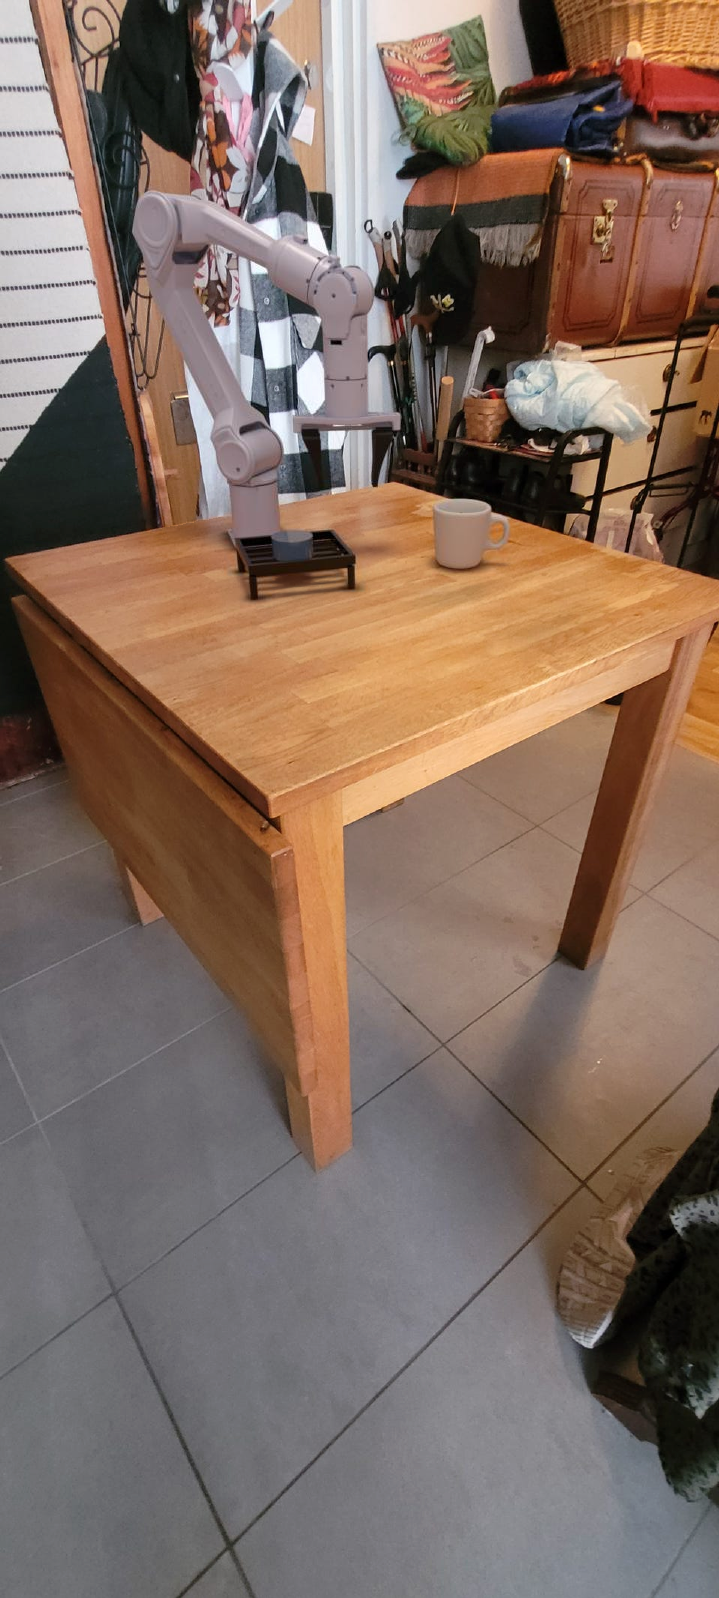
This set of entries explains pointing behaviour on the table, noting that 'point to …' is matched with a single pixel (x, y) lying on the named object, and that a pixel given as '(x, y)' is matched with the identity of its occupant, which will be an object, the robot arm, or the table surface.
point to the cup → (465, 532)
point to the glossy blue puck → (292, 545)
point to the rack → (264, 564)
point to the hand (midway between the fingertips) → (347, 486)
